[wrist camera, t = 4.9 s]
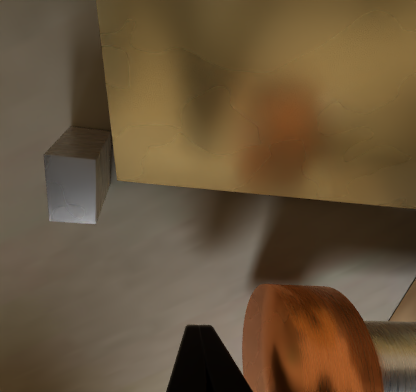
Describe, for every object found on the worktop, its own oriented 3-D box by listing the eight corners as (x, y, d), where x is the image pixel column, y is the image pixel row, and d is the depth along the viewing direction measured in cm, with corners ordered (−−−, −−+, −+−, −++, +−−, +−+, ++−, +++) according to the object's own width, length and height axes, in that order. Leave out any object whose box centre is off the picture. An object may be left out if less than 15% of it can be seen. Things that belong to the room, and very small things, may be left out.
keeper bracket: (449, 216, 11) (503, 252, 9) (73, 181, 9) (49, 221, 7) (475, 175, 10) (538, 206, 8) (70, 126, 8) (44, 154, 6)
